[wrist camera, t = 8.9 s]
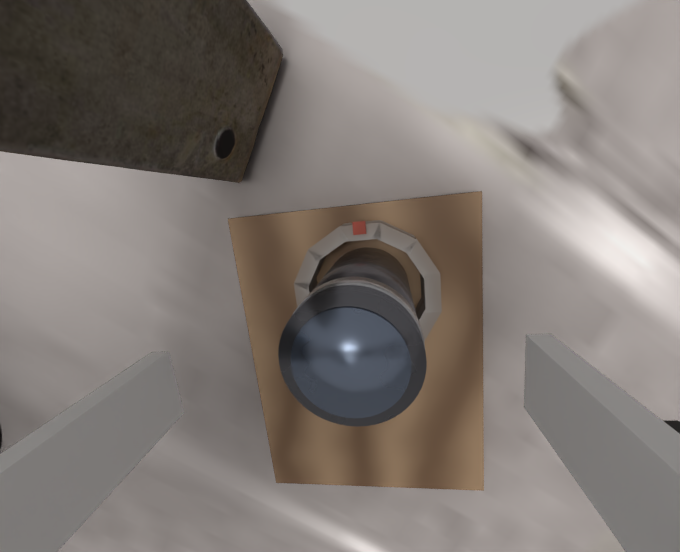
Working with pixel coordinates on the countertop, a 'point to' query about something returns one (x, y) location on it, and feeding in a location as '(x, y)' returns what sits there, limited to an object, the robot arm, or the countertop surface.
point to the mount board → (448, 349)
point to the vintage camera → (136, 83)
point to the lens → (356, 342)
